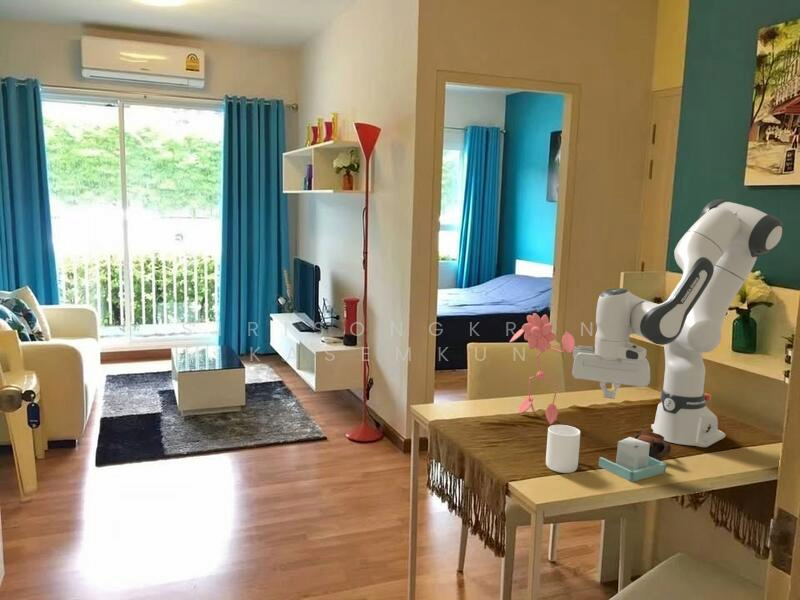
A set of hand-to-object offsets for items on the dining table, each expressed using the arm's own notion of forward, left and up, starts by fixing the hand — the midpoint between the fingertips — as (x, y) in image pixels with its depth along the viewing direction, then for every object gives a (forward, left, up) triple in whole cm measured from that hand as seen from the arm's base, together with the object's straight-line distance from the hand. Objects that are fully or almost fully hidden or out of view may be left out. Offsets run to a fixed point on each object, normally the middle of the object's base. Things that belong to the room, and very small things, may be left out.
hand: (609, 397), depth 177 cm
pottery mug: (-11, +7, -17) cm, 21 cm away
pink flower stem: (-1, -31, -17) cm, 36 cm away
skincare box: (0, +9, -17) cm, 19 cm away
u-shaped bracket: (+1, +10, -17) cm, 19 cm away
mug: (+15, 0, -17) cm, 23 cm away
